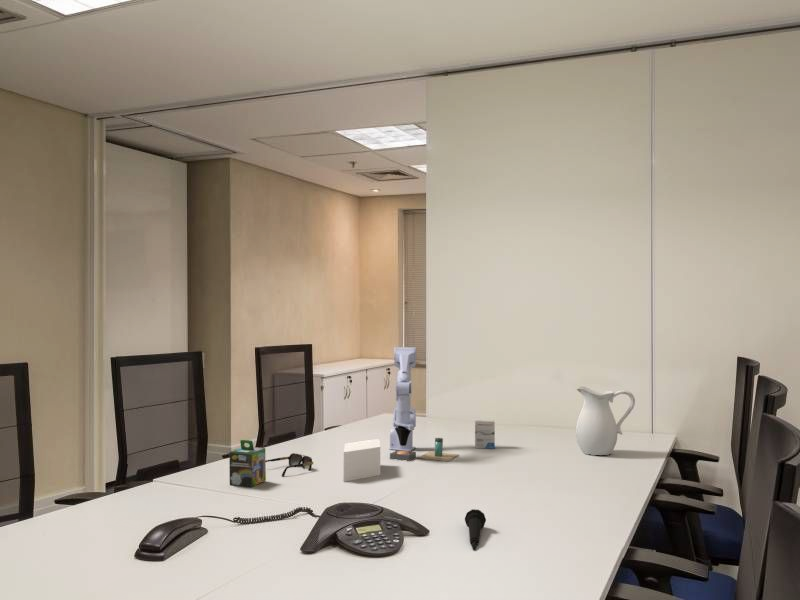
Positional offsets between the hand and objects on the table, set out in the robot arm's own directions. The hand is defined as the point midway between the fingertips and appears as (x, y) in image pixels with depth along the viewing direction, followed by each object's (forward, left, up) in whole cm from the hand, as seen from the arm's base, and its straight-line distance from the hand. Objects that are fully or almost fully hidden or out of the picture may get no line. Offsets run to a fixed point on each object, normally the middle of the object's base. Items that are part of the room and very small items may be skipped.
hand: (403, 445), depth 273 cm
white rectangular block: (-3, -30, -6) cm, 31 cm away
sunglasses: (-30, -39, -6) cm, 49 cm away
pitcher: (+73, +46, -5) cm, 86 cm away
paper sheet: (+12, +9, -5) cm, 16 cm away
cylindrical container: (+12, +9, -5) cm, 16 cm away
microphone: (+56, -81, -6) cm, 98 cm away
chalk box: (-31, -61, -5) cm, 69 cm away
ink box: (+23, +37, -5) cm, 44 cm away
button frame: (0, 0, -5) cm, 5 cm away
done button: (0, 0, -5) cm, 5 cm away
